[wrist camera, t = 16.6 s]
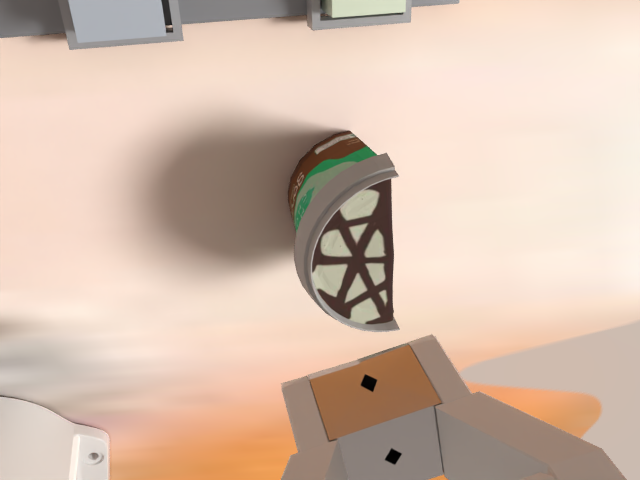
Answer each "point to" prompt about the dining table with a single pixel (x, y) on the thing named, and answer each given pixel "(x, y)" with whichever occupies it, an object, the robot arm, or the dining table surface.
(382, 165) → the food container
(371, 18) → the keypad base
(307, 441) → the robot arm
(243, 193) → the dining table surface
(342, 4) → the sage key
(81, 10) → the slate key
